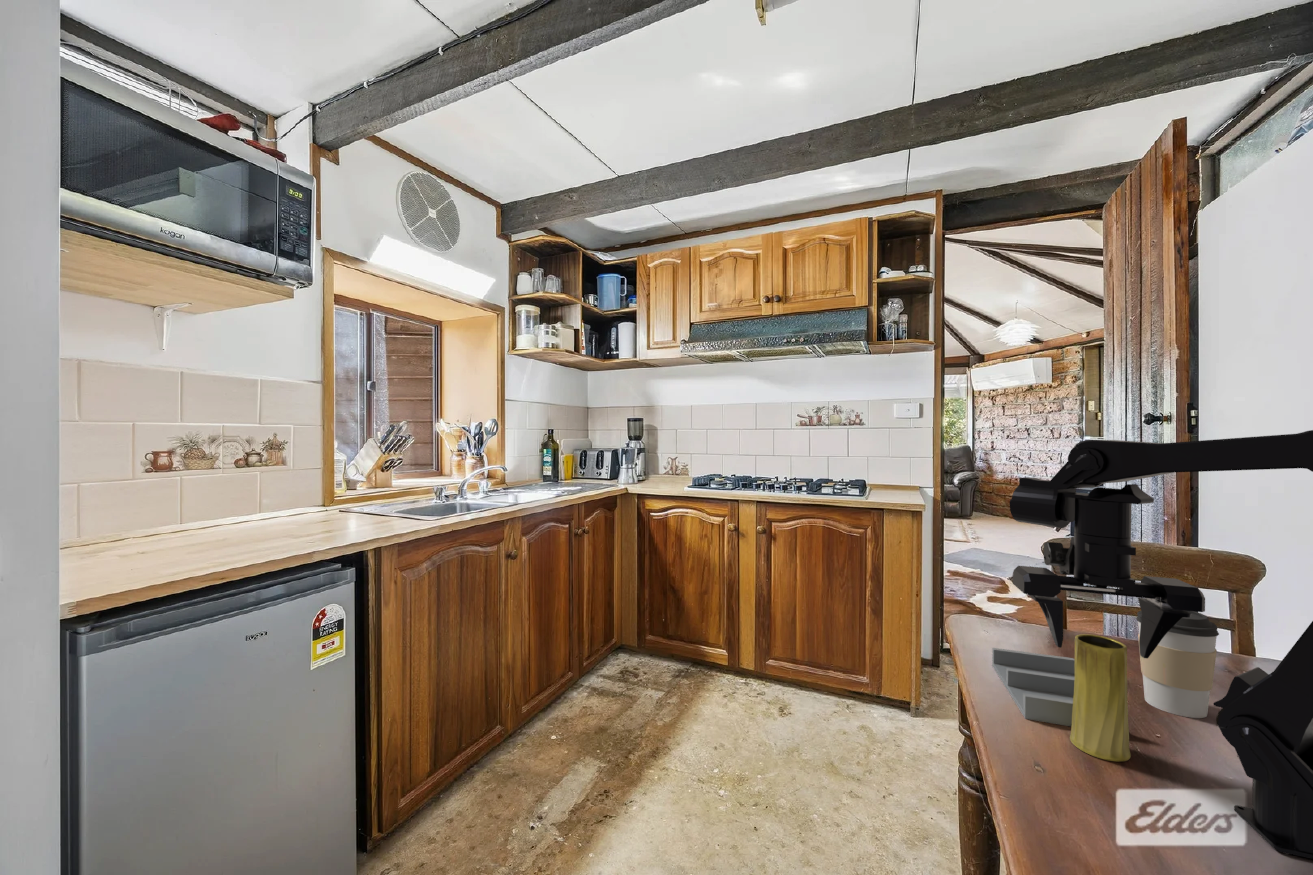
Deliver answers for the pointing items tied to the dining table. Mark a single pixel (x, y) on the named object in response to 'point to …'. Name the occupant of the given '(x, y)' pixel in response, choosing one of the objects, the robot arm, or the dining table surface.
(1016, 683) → the tiered shelf
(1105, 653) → the vase
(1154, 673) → the coffee cup
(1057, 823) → the dining table surface
